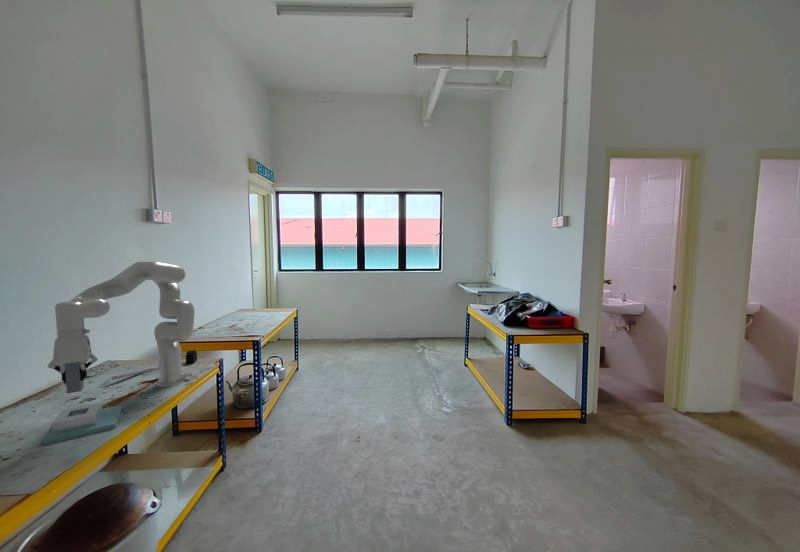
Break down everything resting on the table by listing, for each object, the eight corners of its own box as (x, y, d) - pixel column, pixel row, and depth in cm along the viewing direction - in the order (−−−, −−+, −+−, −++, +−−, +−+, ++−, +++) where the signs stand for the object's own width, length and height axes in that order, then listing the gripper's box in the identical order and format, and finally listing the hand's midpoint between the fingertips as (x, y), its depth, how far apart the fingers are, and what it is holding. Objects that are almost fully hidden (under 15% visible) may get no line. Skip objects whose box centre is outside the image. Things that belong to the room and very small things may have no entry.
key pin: (83, 387, 133) (81, 357, 132) (81, 391, 129) (78, 360, 128) (69, 389, 131) (67, 359, 130) (66, 393, 127) (64, 362, 126)
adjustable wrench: (113, 380, 170) (113, 376, 170) (105, 379, 172) (105, 375, 172) (163, 369, 193) (163, 365, 193) (155, 368, 195) (155, 365, 195)
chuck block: (122, 409, 146) (121, 396, 145) (115, 428, 131) (114, 413, 130) (58, 422, 135) (56, 408, 135) (42, 445, 120) (41, 428, 119)
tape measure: (193, 365, 199) (193, 352, 198) (185, 366, 198) (184, 353, 197) (201, 357, 213) (200, 345, 212) (193, 358, 212) (192, 345, 211)
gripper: (102, 329, 136) (105, 373, 137) (43, 334, 127) (47, 382, 128) (98, 333, 130) (101, 379, 131) (36, 339, 121) (40, 389, 122)
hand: (74, 380), depth 130 cm, fingers closed on key pin, 4 cm apart
